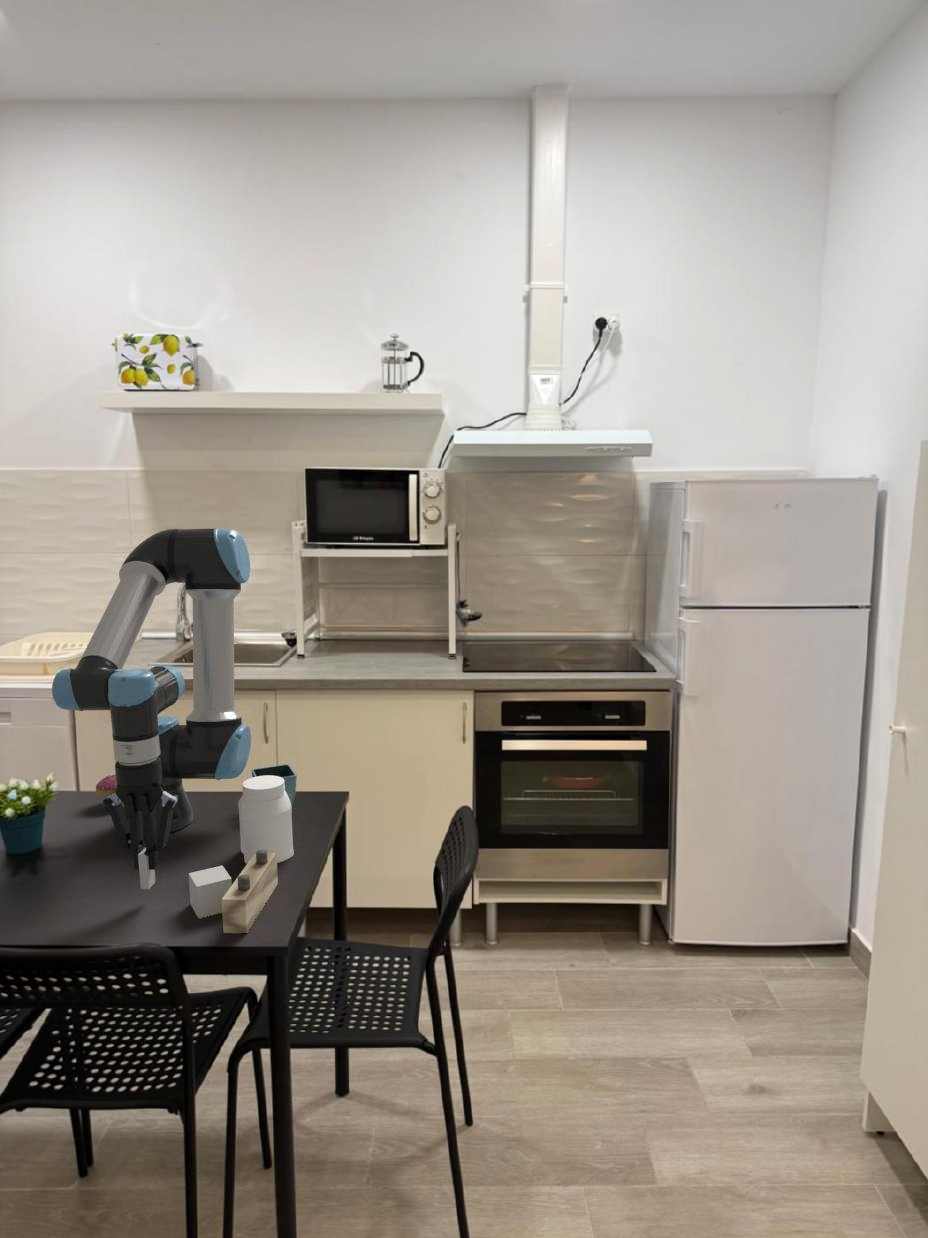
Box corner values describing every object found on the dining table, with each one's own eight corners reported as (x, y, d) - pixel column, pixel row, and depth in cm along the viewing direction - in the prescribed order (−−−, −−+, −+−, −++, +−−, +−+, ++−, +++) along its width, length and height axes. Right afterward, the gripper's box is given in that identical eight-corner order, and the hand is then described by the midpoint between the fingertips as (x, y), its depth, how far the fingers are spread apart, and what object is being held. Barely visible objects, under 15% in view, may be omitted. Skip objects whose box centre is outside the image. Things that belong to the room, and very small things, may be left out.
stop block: (223, 933, 143) (220, 888, 142) (256, 883, 161) (254, 842, 159) (247, 933, 143) (244, 888, 141) (277, 883, 160) (275, 843, 159)
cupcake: (107, 798, 205) (103, 750, 203) (142, 798, 204) (138, 749, 203) (90, 812, 196) (86, 761, 194) (127, 812, 196) (123, 761, 194)
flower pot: (259, 819, 191) (257, 781, 189) (252, 806, 199) (250, 769, 197) (298, 813, 194) (297, 775, 193) (290, 800, 202) (288, 763, 201)
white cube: (190, 905, 153) (188, 873, 152) (224, 896, 156) (222, 865, 155) (198, 919, 148) (196, 886, 147) (233, 910, 151) (231, 878, 150)
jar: (239, 846, 177) (235, 776, 175) (285, 838, 181) (282, 770, 178) (246, 869, 167) (242, 795, 164) (296, 860, 170) (292, 788, 168)
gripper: (90, 766, 146) (102, 895, 150) (165, 767, 145) (175, 896, 149) (111, 751, 153) (122, 874, 157) (182, 752, 152) (191, 876, 156)
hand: (148, 885), depth 153 cm, fingers closed
